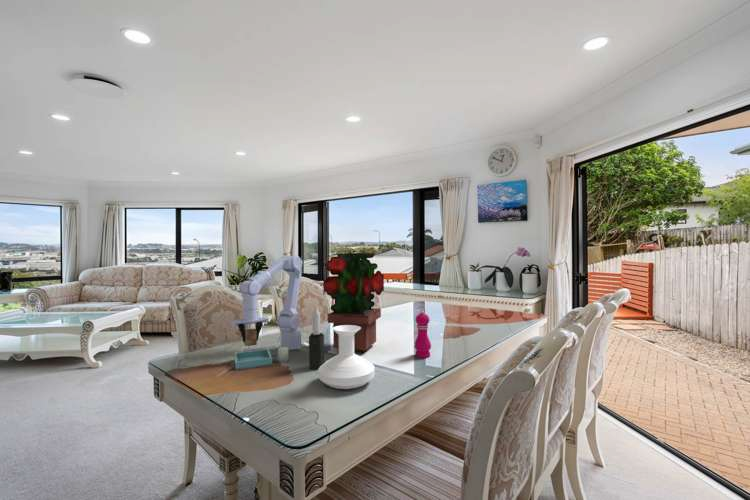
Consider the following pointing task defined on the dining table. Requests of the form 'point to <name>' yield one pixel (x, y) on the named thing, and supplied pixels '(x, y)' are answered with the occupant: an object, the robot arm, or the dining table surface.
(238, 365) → the tray
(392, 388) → the dining table surface
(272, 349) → the slate block
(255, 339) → the walnut block
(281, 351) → the sage cylinder
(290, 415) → the dining table surface
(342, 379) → the white vase
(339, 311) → the potted plant
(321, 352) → the candle
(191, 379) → the dining table surface
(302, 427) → the dining table surface
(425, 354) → the pepper mill
